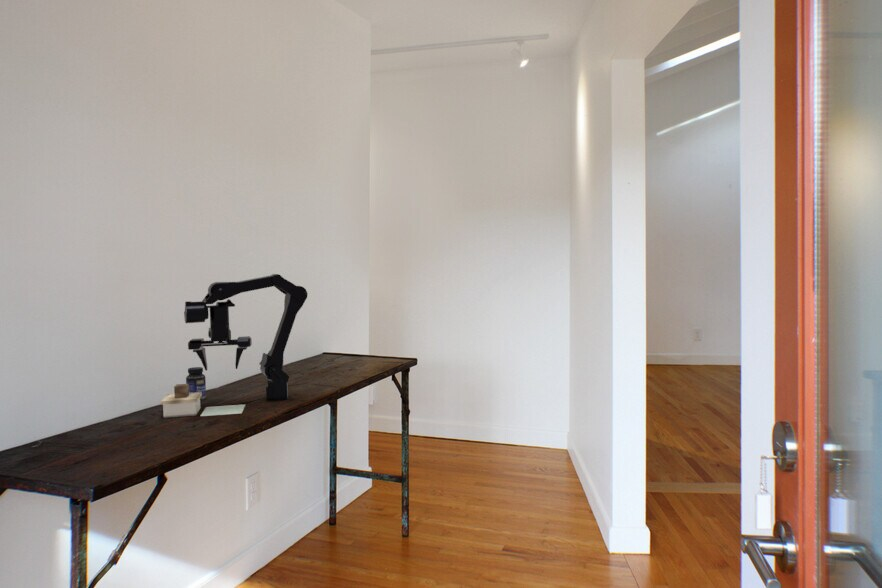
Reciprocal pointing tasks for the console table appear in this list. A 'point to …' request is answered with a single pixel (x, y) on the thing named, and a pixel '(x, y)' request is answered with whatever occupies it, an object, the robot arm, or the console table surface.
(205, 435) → the console table surface
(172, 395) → the lid
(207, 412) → the mat
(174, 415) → the beige boxy piece
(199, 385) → the pill bottle
